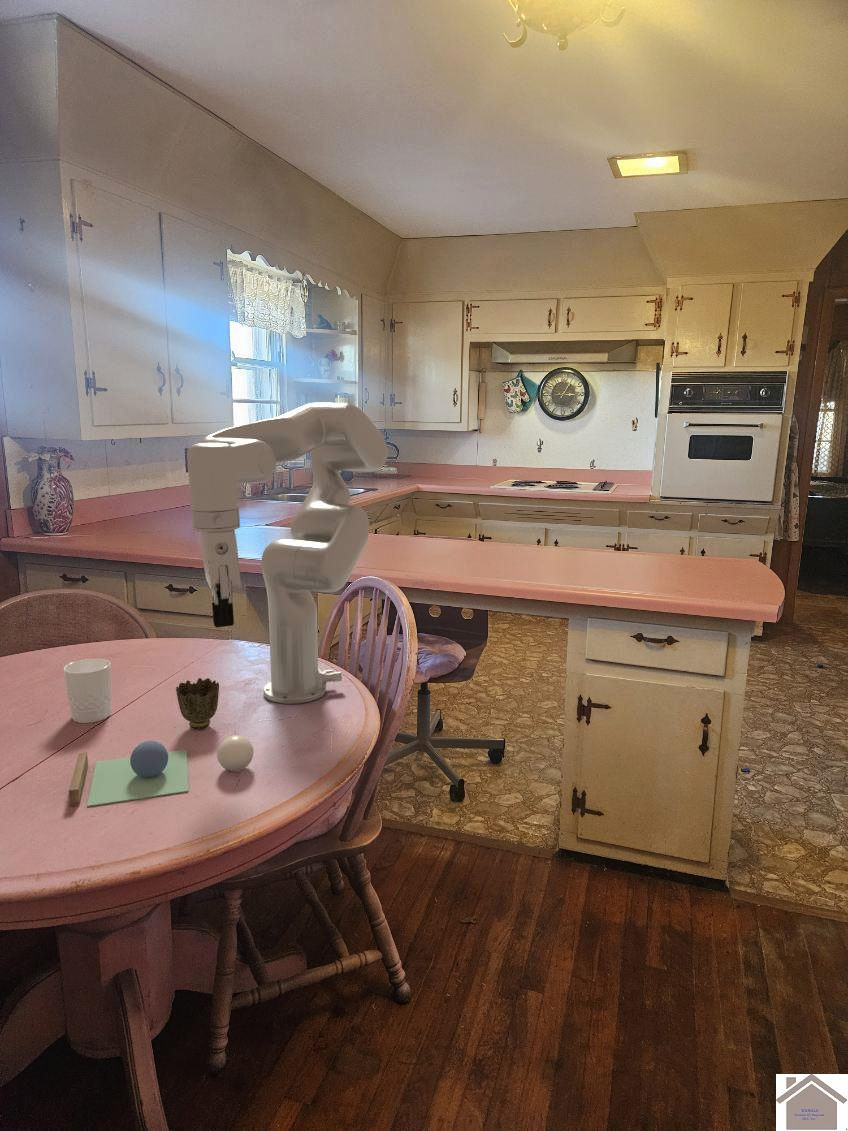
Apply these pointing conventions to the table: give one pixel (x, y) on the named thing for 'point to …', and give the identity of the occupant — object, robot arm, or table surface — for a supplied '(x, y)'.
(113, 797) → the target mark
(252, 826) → the table surface
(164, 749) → the object ball
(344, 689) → the table surface
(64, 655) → the table surface
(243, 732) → the table surface
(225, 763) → the cream ball
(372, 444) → the robot arm
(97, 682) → the white cup
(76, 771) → the stop rail
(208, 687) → the cup
